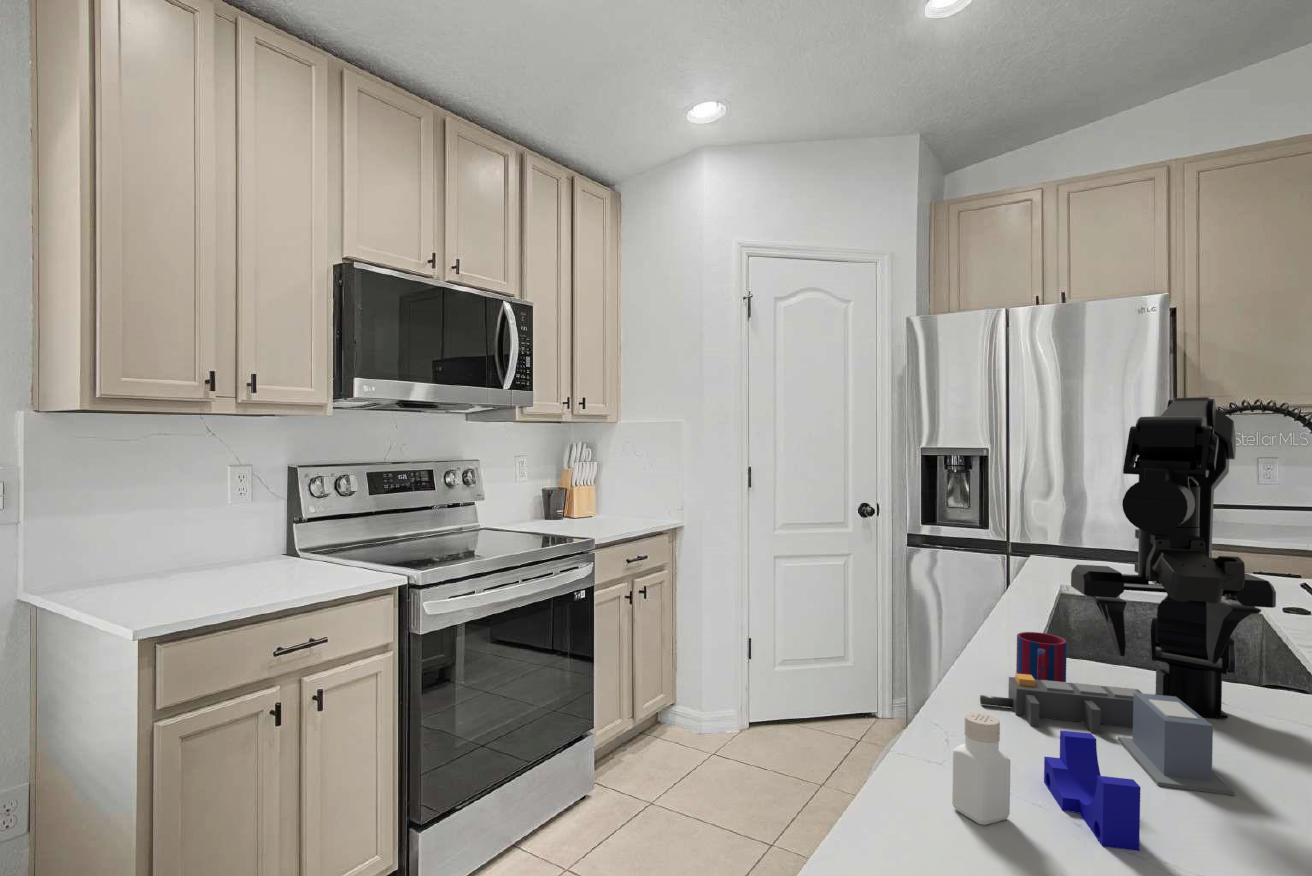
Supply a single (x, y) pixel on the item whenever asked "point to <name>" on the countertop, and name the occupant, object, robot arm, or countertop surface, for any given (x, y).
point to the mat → (1170, 781)
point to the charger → (1173, 736)
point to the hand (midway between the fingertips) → (1166, 658)
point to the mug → (1041, 656)
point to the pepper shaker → (981, 772)
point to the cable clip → (1094, 792)
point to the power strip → (1067, 702)
